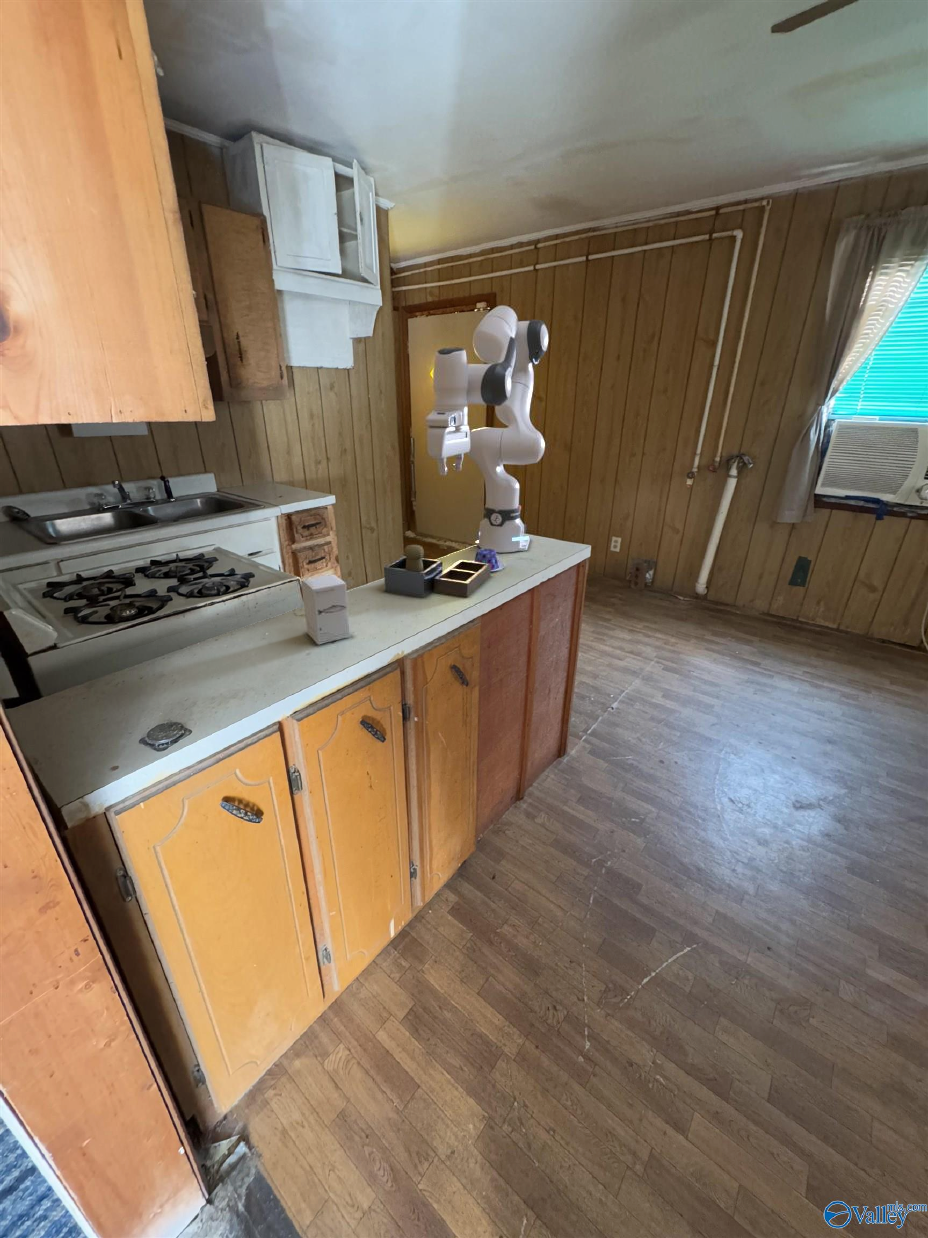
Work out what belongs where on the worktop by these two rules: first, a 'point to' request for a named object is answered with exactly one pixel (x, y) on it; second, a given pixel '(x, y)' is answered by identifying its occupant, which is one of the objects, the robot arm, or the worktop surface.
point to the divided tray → (462, 578)
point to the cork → (414, 558)
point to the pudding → (489, 559)
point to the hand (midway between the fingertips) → (450, 472)
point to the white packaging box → (326, 608)
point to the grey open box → (411, 578)
